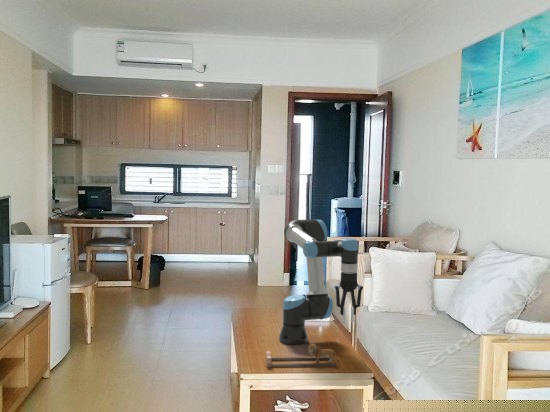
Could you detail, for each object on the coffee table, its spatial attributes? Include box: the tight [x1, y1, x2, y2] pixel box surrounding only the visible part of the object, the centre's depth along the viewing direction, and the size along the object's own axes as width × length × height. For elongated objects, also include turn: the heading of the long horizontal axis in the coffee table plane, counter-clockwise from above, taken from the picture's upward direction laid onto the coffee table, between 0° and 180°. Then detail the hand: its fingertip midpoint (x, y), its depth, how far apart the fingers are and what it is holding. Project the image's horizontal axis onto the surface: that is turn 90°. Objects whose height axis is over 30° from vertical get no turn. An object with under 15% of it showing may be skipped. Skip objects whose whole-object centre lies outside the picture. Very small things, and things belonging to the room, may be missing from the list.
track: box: [265, 350, 337, 368], centre depth 249 cm, size 10×32×4 cm, turn 94°
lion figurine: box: [308, 343, 340, 364], centre depth 250 cm, size 15×5×9 cm, turn 90°
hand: (347, 321), depth 250 cm, fingers open, 3 cm apart
